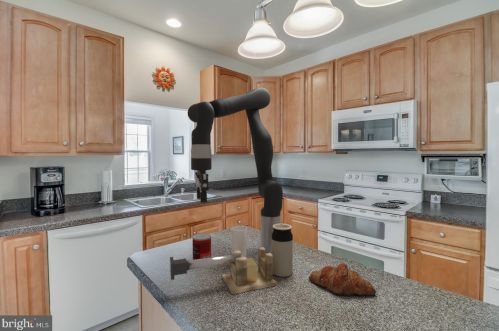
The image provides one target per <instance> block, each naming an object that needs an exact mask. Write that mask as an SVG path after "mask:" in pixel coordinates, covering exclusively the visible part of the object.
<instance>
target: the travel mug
mask: <svg viewBox="0 0 499 331" xmlns="http://www.w3.org/2000/svg"><path fill="white" fill-rule="evenodd" d="M272 227H273V233H272V255H273V276H277V277H281V278H286V277H290V276H292V274H293V271H294V269H293V266H294V265H293V261H294V258H293V253H294V252H293V248H294V243H293V242H294V238H293V237H294V236H293V233H292V229H293V226H292V225H291V224H288V223H280V224H274V225H273V226H272Z"/></svg>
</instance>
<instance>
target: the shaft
mask: <svg viewBox="0 0 499 331" xmlns="http://www.w3.org/2000/svg"><path fill="white" fill-rule="evenodd" d="M235 258H240V254H239V253H238V254H231V255H230V254H226V255H218V256H211V257H210V258H203V259H196V260H193V259H191V260H187V258H179V259H174V257H173V256H170V257H169V276H170V281H174V280H175V276H179V275H181V276H182V275H187V274H188V272H189V271H195V270H200V269H201V270H202V269H207V268H212V267H213V268H214V267H220V266H226V265H227V266H228V265H230V264H233V263H235Z"/></svg>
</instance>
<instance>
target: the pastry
mask: <svg viewBox="0 0 499 331" xmlns="http://www.w3.org/2000/svg"><path fill="white" fill-rule="evenodd" d="M308 280H309V281H310V282H311V283H313V284H314V285H318V287H321V288H324V289H326V290H327V291H329V292H331V293H333V294H335V295H337V296H354V295H355V296H358V297H360V296H368V297H373V296H375V295H376V294H377V290H376V289H375V288H374V286H373V285H372V283H371V282H370V281H369V280H367V279H365V278H363V277H361V275H360V274H359V273H358V272H357V271H355V270H350V269H349V268H348V264H346V263H344V262H343V263H342V262H341V263H339V264H338V265H337V266H331V265H328V266H327V265H326V266H324V267H323V268H321V269H319V270H314V271H312V272H311V273H310V275H309V276H308Z"/></svg>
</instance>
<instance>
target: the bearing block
mask: <svg viewBox="0 0 499 331" xmlns="http://www.w3.org/2000/svg"><path fill="white" fill-rule="evenodd" d="M257 251H258V252H257V255H258V256H257V262H258V263H257V281H255V282H249V283H247V258H248V257H247V256H246V257H241V252H240V251H232V250H231V251H230V252H229V255H231V254H238V253H239V254H240V258H235V263H233V264H229V265H230V266H229V269H230V273H228V272H227V273H223V274H222V275H221V278H222V280H223V282H224V284H225V285H226V287H227V289H228V290H229V292H230V295H234V294H235V295H236V294H240V293H245V292H251V291H256V290H261V289H265V288H271V287H275V286H277V281H276V280H275V279H274V278H273V276H274V274H273V255H272V254H271V253H266V254H265V248H263V247H261V246H260V247H258V248H257Z"/></svg>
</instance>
